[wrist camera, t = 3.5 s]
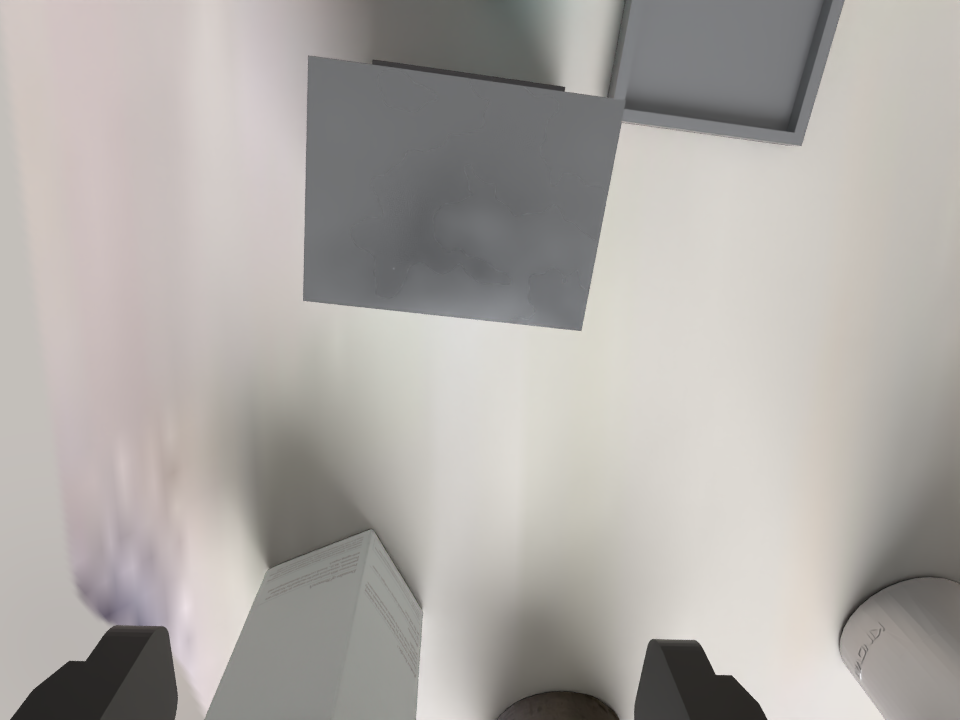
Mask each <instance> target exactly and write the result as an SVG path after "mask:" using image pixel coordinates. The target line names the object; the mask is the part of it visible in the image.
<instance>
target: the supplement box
mask: <svg viewBox="0 0 960 720" xmlns="http://www.w3.org/2000/svg"><path fill="white" fill-rule="evenodd" d="M422 618H423V611H422V609H421V608H420V606H419V604H418V603H417V601H416V599H415V598H414V596H413V594H412V593H411V591H410V589H409V588H408V586H407V584H406V583H405V581H404V580H403V578H402V576H401V575H400V573H399V571H398V570H397V568H396V566H395V565H394V563H393V562H392V560H391V558H390V557H389V555H388V553H387V552H386V550H385V548H384V547H383V545H382V544H381V542H380V540H379V539H378V537H377V535H376V534H375V532H374V530H372V529H370V530H368V531H365V532H362V533H360V534H357V535H354V536H352V537H349V538H346V539H344V540H341V541H339V542H336V543H333V544H331V545H328V546H326V547H323V548H321V549H318V550H315V551H312V552H310V553H307V554H305V555H303V556H300V557H297V558H295V559H292V560H290V561H287V562H284V563H282V564H279V565H277V566H275V567H273V568H271V569H269V570H267V572H266V574H265V576H264V579H263V581H262V584H261V586H260V588H259V591H258V593H257V595H256V598H255V600H254V602H253V605H252V607H251V610H250V612H249V615H248V617H247V619H246V622H245V624H244V626H243V629H242V631H241V634H240V636H239V638H238V641H237V643H236V645H235V648H234V650H233V653H232V655H231V657H230V660H229V662H228V665H227V667H226V669H225V672H224V674H223V676H222V679H221V681H220V683H219V686H218V688H217V691H216V693H215V695H214V698H213V700H212V703H211V705H210V707H209V710H208V712H207V714H206V717H205V719H204V720H416V710H417V693H418V677H419V661H420V647H421V633H422Z"/></svg>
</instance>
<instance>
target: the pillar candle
mask: <svg viewBox="0 0 960 720" xmlns="http://www.w3.org/2000/svg"><path fill="white" fill-rule="evenodd" d="M497 720H619V718H618V717H617V715H616V714H615V713H614V711H613V710H611V709H610V708H609V707H607V706H606V705H605V704H604V703H603V702H601V701H599V700H598V699H596V698H595V697H591V696H588V695H585V694H581V693H573V692H549V693H543V694H538V695H534V696H532V697H528V698H525V699H523V700H521V701H518V702H517V703H515V704H513V705H512V706H511V707H509V708H507V709H506V710H505V712H504V713H502V714H501V715H500V716H499V717H498V719H497Z"/></svg>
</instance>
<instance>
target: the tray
mask: <svg viewBox="0 0 960 720" xmlns="http://www.w3.org/2000/svg"><path fill="white" fill-rule="evenodd" d="M843 3H844V0H626V1H625V6H624V12H623V17H622V23H621V28H620V33H619V39H618V44H617V50H616V55H615V61H614V66H613V72H612V77H611V83H610V88H609V93H608V98H612V99H619V100H626V102H625V107H624V113H623V118H622V123H629V124H636V125H643V126H650V127H658V128H665V129H672V130H679V131H687V132H694V133H701V134H708V135H716V136H723V137H730V138H737V139H744V140H752V141H759V142H766V143H773V144H781V145H789V146H802V142H803V139H804V135H805V132H806V129H807V125H808V122H809V119H810V115H811V112H812V108H813V105H814V102H815V98H816V95H817V91H818V88H819V85H820V81H821V78H822V75H823V71H824V68H825V64H826V61H827V58H828V54H829V51H830V47H831V44H832V41H833V37H834V34H835V31H836V27H837V24H838V20H839V17H840V14H841V10H842V7H843Z"/></svg>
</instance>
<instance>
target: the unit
mask: <svg viewBox="0 0 960 720" xmlns="http://www.w3.org/2000/svg"><path fill="white" fill-rule="evenodd" d="M564 91H565V87H562V86H554V85H547V84H540V83H533V82H526V81H519V80H512V79H505V78H498V77H491V76H484V75H477V74H470V73H463V72H456V71H449V70H442V69H435V68H428V67H421V66H414V65H407V64H400V63H393V62H386V61H378V60H373V64H365V63H358V62H351V61H344V60H337V59H329V58H322V57H315V56H308V94H307V142H306V190H305V237H304V285H303V301H310V302H319V303H328V304H338V305H347V306H356V307H365V308H375V309H384V310H393V311H402V312H412V313H421V314H430V315H439V316H448V317H458V318H467V319H476V320H485V321H495V322H504V323H513V324H522V325H532V326H541V327H550V328H559V329H568V330H578V331H581V330H582V325H583V320H584V314H585V309H586V304H587V299H588V294H589V289H590V283H591V278H592V273H593V268H594V263H595V258H596V252H597V247H598V242H599V237H600V232H601V226H602V221H603V216H604V211H605V206H606V201H607V195H608V190H609V185H610V180H611V175H612V170H613V164H614V159H615V154H616V149H617V144H618V139H619V133H620V128H621V123H622V118H623V113H624V107H625V102H626V100H619V99H612V98H605V97H598V96H591V95H584V94H577V93H570V92H564Z"/></svg>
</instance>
